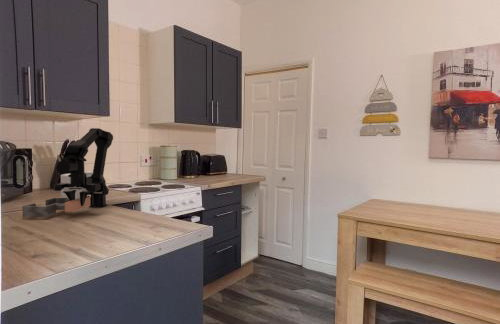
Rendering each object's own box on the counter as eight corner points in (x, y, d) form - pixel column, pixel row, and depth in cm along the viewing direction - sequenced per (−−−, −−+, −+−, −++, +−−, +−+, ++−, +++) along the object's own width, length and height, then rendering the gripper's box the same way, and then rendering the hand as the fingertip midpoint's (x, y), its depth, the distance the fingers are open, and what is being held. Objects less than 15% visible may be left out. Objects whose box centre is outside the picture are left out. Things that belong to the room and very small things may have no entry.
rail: (83, 205, 149) (83, 196, 148) (90, 205, 149) (90, 196, 148) (64, 211, 135) (64, 202, 134) (72, 211, 135) (72, 202, 134)
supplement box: (76, 202, 168) (76, 175, 167) (60, 202, 169) (59, 174, 168) (86, 199, 177) (85, 173, 176) (70, 199, 178) (69, 173, 177)
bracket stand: (75, 209, 152) (74, 198, 152) (46, 219, 132) (46, 206, 132) (54, 208, 153) (54, 197, 152) (22, 219, 132) (22, 206, 132)
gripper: (106, 170, 148) (107, 202, 149) (68, 169, 149) (69, 202, 150) (93, 173, 137) (94, 207, 138) (52, 172, 138) (53, 206, 139)
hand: (78, 205), depth 142 cm, fingers closed on rail, 3 cm apart
